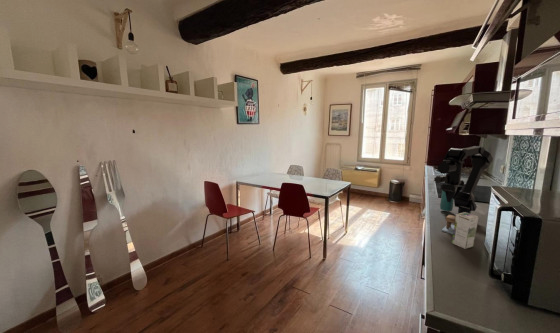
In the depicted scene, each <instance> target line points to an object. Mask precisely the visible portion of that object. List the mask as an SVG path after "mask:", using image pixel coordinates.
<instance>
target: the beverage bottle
mask: <svg viewBox="0 0 560 333" xmlns="http://www.w3.org/2000/svg"><path fill="white" fill-rule="evenodd" d="M439 208H440V210H442V211H447V212H452V211H453V209H454V199H453V198H452V199H451V201H450V202H447V198H446V194H445V192H444V191H443V190H442V189H441V197H440V205H439Z"/></svg>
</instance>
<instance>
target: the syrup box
mask: <svg viewBox="0 0 560 333" xmlns="http://www.w3.org/2000/svg"><path fill="white" fill-rule="evenodd" d="M455 216H456V219H455V223H454V225H455V226H454V232H453V234H452V239H451V244H453V245H455V246H458V247H460V248H462V249H464V250H467V249H470V248H473V247H474V246H475V239H476V233H477V229H478V222H479V216H478V215H475V214H472V213H471V214H470V213H466V212H463V213H458V212H457V213H456V214H455Z"/></svg>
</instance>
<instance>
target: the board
mask: <svg viewBox="0 0 560 333" xmlns="http://www.w3.org/2000/svg"><path fill="white" fill-rule="evenodd" d="M454 226H455V224H451V227H449V229H447V228H446V225H445V226H444V227H443V228H442V229H441V232H444V233H447V234H451V235H453V232H454Z"/></svg>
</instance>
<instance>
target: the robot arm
mask: <svg viewBox="0 0 560 333" xmlns="http://www.w3.org/2000/svg"><path fill="white" fill-rule="evenodd" d="M468 157H469V158H470V159H471V165H472V168H471V170H470V173H469V175H468V177H467V180H466V181H464V180H462V179H461V178H462V176H463V172H462V171H463V164H465V163H466V162H465V160H466V159H468ZM493 160H494V159H493V156H492V153H490V152H489V151H487V150H486V149H485V147H484V146H478V145H477V146H476V145H474V146H469V147H464V148H456V147H455V148H454V147H451V148H449V149H448V150H447V152H446V154H445V156H444V157H443V159H442V161H441V162H440V163H439V164H438V166H437V171H438V173H440V174H442V175H436V176H435V177H434V178H433V182H435V184H439V183H440V184H441V183H443V184H441V185H440V190H441V191H442V190H443V191H444V192H445V194H446V198H447V202H450V201H451V199H452V198H453V199H454V200H453V205H454V208H455V207H456V208H458V210H457V214H458V213H463V212H466V213H470V214H472V212H476V210H477V207H478V206H477V204H476V198H475V195H474V192H475V191H476V188H477V186H478V184H479V181H480V179H481V177H482V174H483V172H484V170H486V169H487V168H489V167H490V165H491V163H493ZM443 174H445V175H443Z"/></svg>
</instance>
